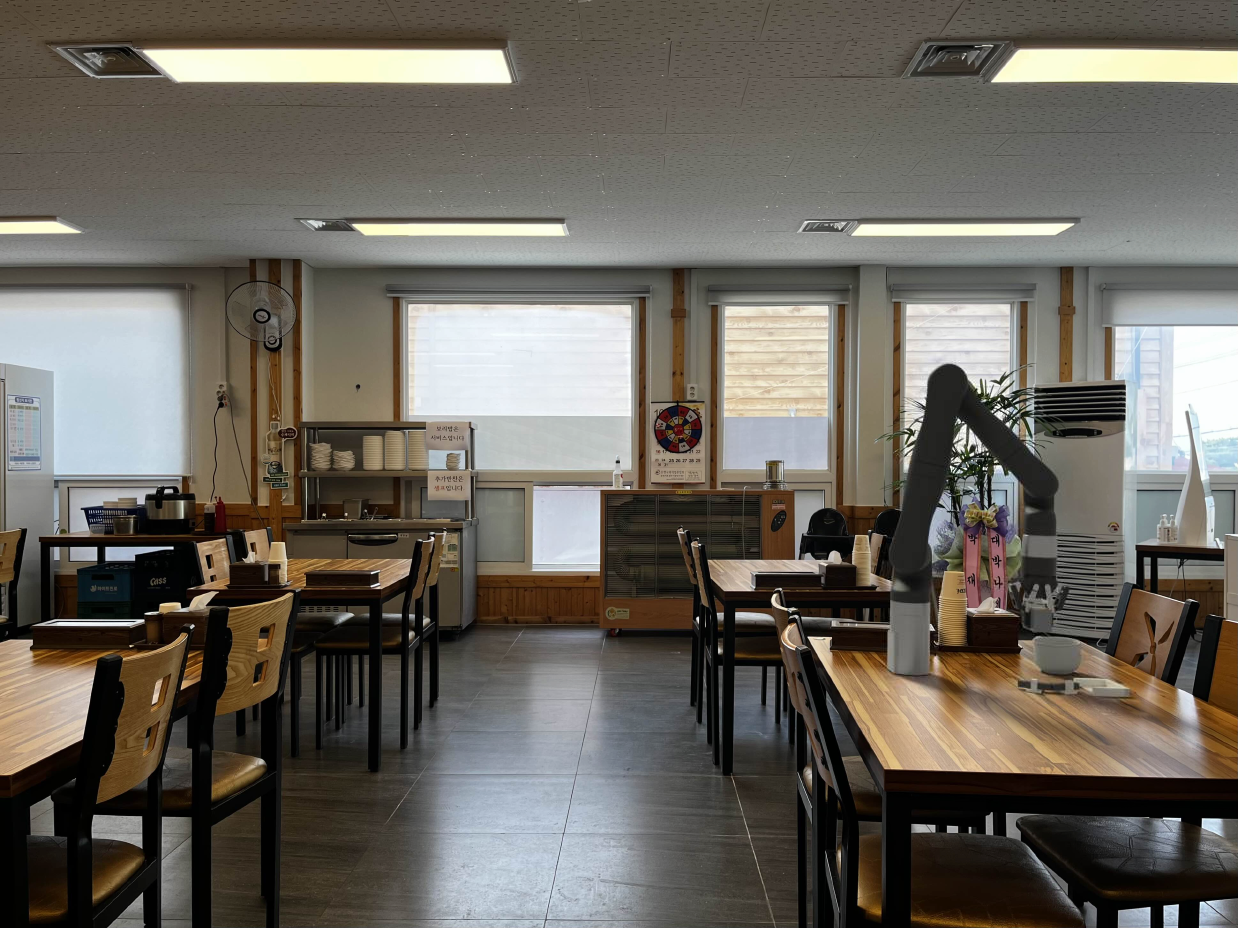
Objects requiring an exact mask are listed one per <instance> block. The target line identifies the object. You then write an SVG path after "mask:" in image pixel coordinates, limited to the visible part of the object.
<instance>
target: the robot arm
mask: <svg viewBox="0 0 1238 928" xmlns="http://www.w3.org/2000/svg"><path fill="white" fill-rule="evenodd" d="M926 387H927V388H926V396H925V406H924V412H923V417H922V421H921V425H920V428H919V431H918V433H917V436H916V438H915V442H914V445H913V448H912V453H911V456H910V460H909V464H908V468H907V473H906V479H905V485H904V491H903V496H902V504H901V510H900V511H901V512H900V516H899V519H898V522H897V526H896V529H895V531H894V535H893V538H892V541H891V543H890V546H889V549H888V559H889V562H890V564H891V566H892V567H893V569H892V570H893V573H892V574H893V576H892V577H893V578H892V582H891V583H892V585H891V588H890V594H889V595H890V597H889V598H890V601H889V602H890V605H889V606H890V607H889V608H890V612H889V613H890V616H889V617H890V618H889V619H890V621H889V622H890V623H889V629H888V630H887V655H886V656H887V659H886V663H887V666H886V669H887V670H888V671H890V672H892V674H896V675H897V674H898V675H899V674H900V675H903V676H904V675H906V676H925V675H929V674H930V667H931V665H930V656H931V655H930V646H931V643H930V641H931V639H930V637H931V634H930V633H931V628H930V627H931V594H932V593H931V592H932V589H933V588H932V585H933V551H932V546H931V545H930V543H929V537H930V531H931V526H932V521H933V518H934V515H935V513H936V511H937V508H938V506H939V504H940V501H941V499H942V497H943V494H944V491H945V488H946V486H947V481H948V478H949V474H950V473H949V472H950V467H951V464H952V456H953V449H954V435H955V434H954V433H955V428H956V427H955V426H956V421H957V417H958V418H959V419H960V420H961V421H962V422H963V423H964V424H965V426H967V427H968V428H969V430H970V431H971V432H972V433H973V434H974V435H975V436H976V438H977V439H978V440H979V442H980V443H981V444H982V445H983V446H984V448H986V450H987V451H988V452H989V453H990V454H991V455H992V457H994V458H995V460H996V461H997V462H998V463H999V464H1000V465H1001V466H1002V467H1003V468H1004V469H1005V470H1007V471H1008V472H1010V473H1011V474H1012V475H1013V476H1014V477H1015V478H1016V480H1017V481H1018V482H1019V483H1020V484H1021V485H1022V499H1023V510H1024V511H1023V522H1022V523H1023V528H1022V534H1023V535H1022V540H1021V549H1020V553H1021V554H1020V555H1021V556H1020V557H1021V559H1020V562H1021V564H1020V575H1021V576H1020V578H1019V580H1018V581H1017V582H1014V583H1010V582H1009V583H1007V585H1006V587H1007V589H1008V590H1007V591H1008V594H1009V596H1010V599H1011V603H1012V605H1013V607H1014V608H1015V609H1017V610H1020V611H1021V625H1022V626H1023V625H1024V627H1025V628H1024V627H1023V628H1024V629H1026V628H1027V629H1026V630H1029V629H1030V627H1031V613H1030V610H1031V607H1032V606H1033V604H1034V603H1035V600H1036V599H1041V602H1042V603H1043V608H1048V609H1049V610H1052V627H1053V626H1054V614H1055V612H1060V611H1062V610H1064V609H1063V608H1064V606H1065V603H1066V600H1067V598H1068V596H1069V593H1070V590H1071V589H1070V586H1067V585H1063V584H1061V583H1058V580H1057V570H1058V568H1057V565H1058V563H1057V561H1058V543H1057V516H1056V513H1055V495H1056V494H1057V493H1058V490H1059V487H1060V483H1059V478H1058V477H1057V475H1056V474H1055V473H1054V472H1053V470H1052V469H1050V468H1049V467H1048V466H1047V465H1046V463H1044V462H1043V461H1042V460H1040V458H1038V457H1037V455H1035V454H1034V453H1033V452H1032V451H1031V450H1030V448H1029V447H1028V446H1027V445H1026V444H1025V443H1024V441H1022V439H1021V438H1020V437H1019V436H1018V435H1017V434H1016V433H1015V432H1014V431H1013V430H1012V429H1011V428H1010V427H1009V426H1008V425H1007V424H1005V422H1004V421H1002V420H1001V419H1000V418H999V417H998V416H997V415H996V414H995V413H993V412H992V411H991V410H990V409H989V408H988V407H987V406H986V405H985V404H984V403H983V401H982V400H981V399H980V398H979V397H978V395H977V394H976V393H975V391H974V389H973V388H972V387H971V385H970V384H969V378H968V375H967V373H966V372H965V370H964V369H963V368H962V367H960V365H957V364H955V363H943V364H940V365H938V366H936V367H935V368H934V369H933V370H931V372H930V373H929V375H928V378H927V383H926ZM1020 588H1021V589H1022V590H1023V592H1024V594H1023V597H1022V598H1021V597H1020V593H1019V592H1020V590H1021V589H1020ZM1055 590H1056V593H1057V594H1056V596H1055V600H1054V599H1053V595H1052V594H1053V593H1054V592H1055ZM1021 599H1022V600H1021Z"/></svg>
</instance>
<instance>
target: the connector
mask: <svg viewBox="0 0 1238 928" xmlns="http://www.w3.org/2000/svg"><path fill="white" fill-rule="evenodd" d="M1030 613H1031V627H1030V629H1027V628H1025V627H1024V625H1022V627H1023V628H1024V629H1026V630H1029V631H1032V632H1033V633H1034V632H1035V633H1041V632H1042V633H1052V631H1053V629H1052V628H1053V626H1052V610H1049V609H1048V608H1044V606H1033V605H1032V607H1031V610H1030Z"/></svg>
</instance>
